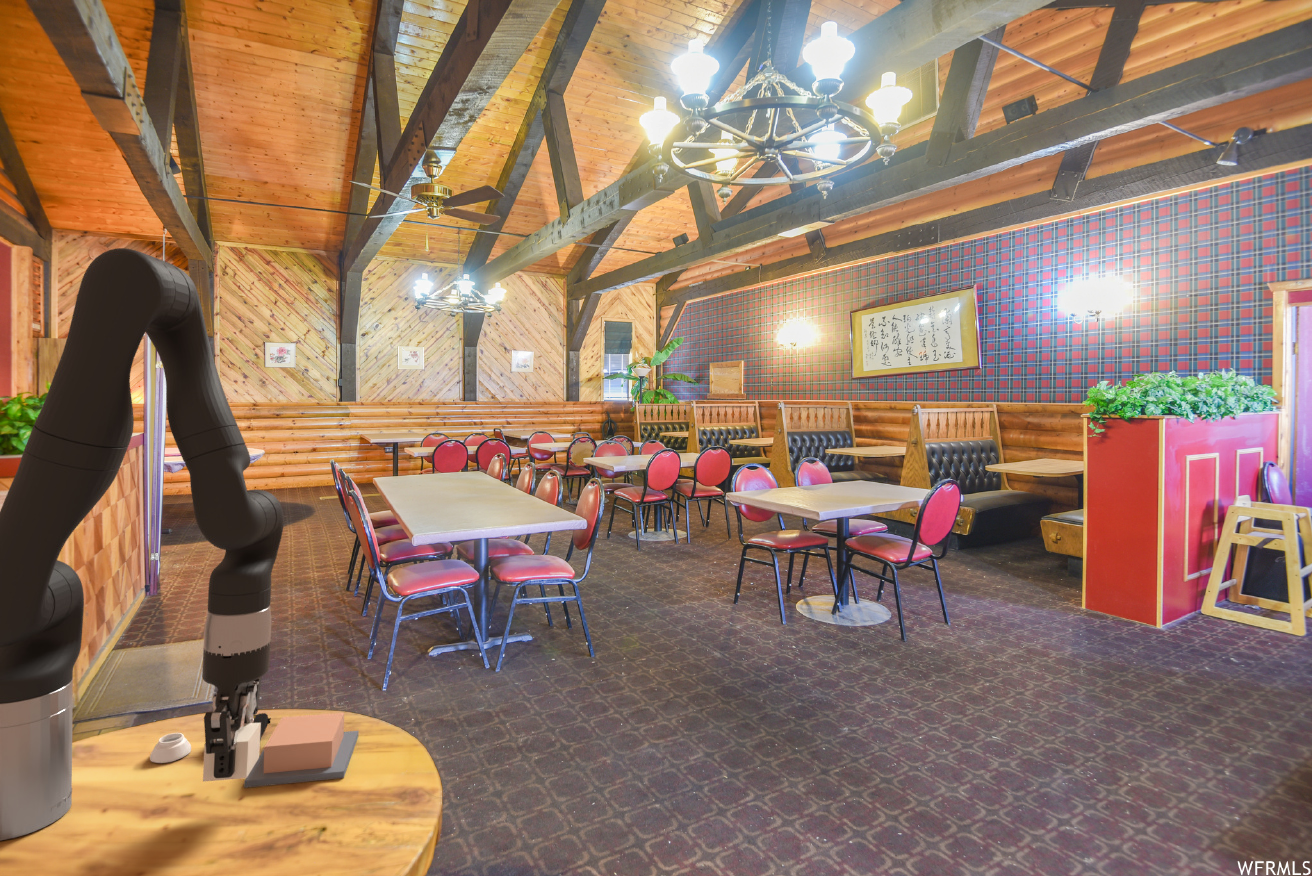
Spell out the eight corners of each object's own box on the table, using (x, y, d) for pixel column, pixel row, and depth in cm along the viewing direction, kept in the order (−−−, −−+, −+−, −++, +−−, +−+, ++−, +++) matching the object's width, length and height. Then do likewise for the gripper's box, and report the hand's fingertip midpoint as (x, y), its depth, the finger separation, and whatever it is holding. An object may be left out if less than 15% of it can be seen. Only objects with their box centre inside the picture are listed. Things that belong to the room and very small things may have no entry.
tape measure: (258, 753, 100) (259, 730, 99) (207, 758, 98) (208, 734, 97) (270, 731, 106) (271, 709, 106) (223, 736, 104) (223, 713, 104)
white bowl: (197, 746, 101) (160, 749, 99) (197, 728, 101) (160, 730, 99) (181, 764, 96) (143, 766, 95) (181, 745, 96) (143, 747, 95)
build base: (244, 787, 91) (244, 753, 90) (270, 743, 102) (271, 713, 102) (343, 777, 94) (344, 745, 94) (358, 736, 106) (359, 707, 105)
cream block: (202, 781, 82) (204, 743, 82) (218, 760, 87) (219, 724, 87) (246, 778, 84) (248, 741, 84) (259, 757, 89) (260, 722, 88)
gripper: (226, 622, 91) (221, 739, 91) (181, 663, 77) (174, 799, 78) (285, 621, 93) (279, 735, 93) (251, 661, 79) (244, 794, 80)
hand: (232, 764), depth 85 cm, fingers closed on cream block, 5 cm apart
